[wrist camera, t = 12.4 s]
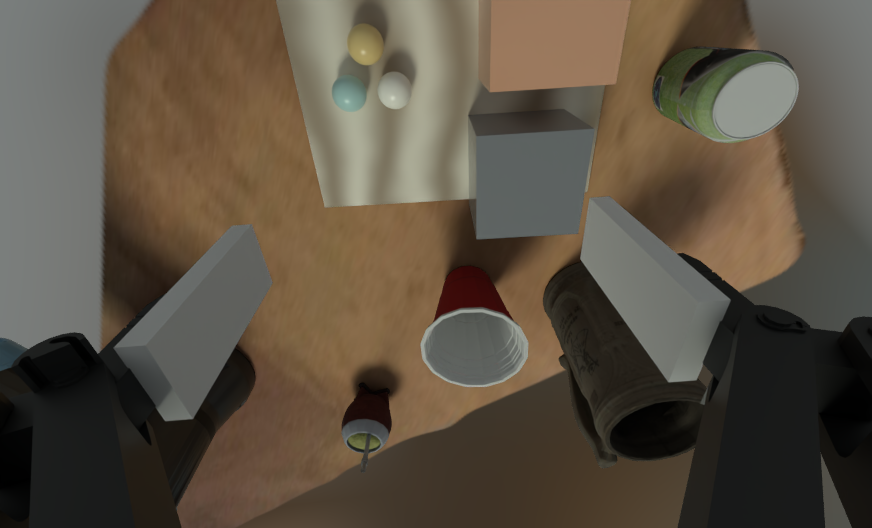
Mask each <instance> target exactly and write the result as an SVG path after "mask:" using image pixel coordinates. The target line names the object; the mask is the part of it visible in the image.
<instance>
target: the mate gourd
mask: <svg viewBox="0 0 872 528" xmlns="http://www.w3.org/2000/svg"><path fill="white" fill-rule="evenodd" d="M359 387H360V391H359V393H358V395H357V397H356V399H354V401H353V402H352V403H351V404H350V406H349V407H348V409H347V410H346V412H345V415H344V418H343V421H342V436H343V439H344V442H345V444H346V446H348V447H349V448H350V449H351V450H353V451H355V452H359V453H364V456H363V458H362V462H361V465H362V468H361V472H365V471H366V466H367V465H368V453H372V452H375V451H377V450H379V449H380V448H381V447H382V446H383V445H384V444H385V443H386V441H387V439H388V437H389V433H390V431H391V426H392V420H391V415H390V410H389V399H388V394H389V393H390V390H389V389H388V388H386V389H383V390H380V391H377V392H374V393H373V392H371V391H370V389H369V388H368V387H367V386H366V385H365V384H364V383H361V384H359Z"/></svg>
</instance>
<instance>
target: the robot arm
mask: <svg viewBox="0 0 872 528" xmlns="http://www.w3.org/2000/svg"><path fill="white" fill-rule="evenodd" d="M580 259H581V261H582V262H583V264H584V265H585V266H586V268H587V269H588V271H589V272H590V273H591V275H592V276H593V278H594V279H595V280H596V282H597V283H598V285H599V286H600V287H601V289H602V290H603V291H604V293H605V294H606V296H607V297H608V298H609V300H610V301H611V303H612V304H613V305H614V307H615V308H616V310H617V311H618V312H619V314H620V315H621V317H622V318H623V319H624V321H625V322H626V324H627V325H628V326H629V328H630V329H631V331H632V332H633V333H634V335H635V336H636V338H637V339H638V340H639V342H640V343H641V345H642V346H643V347H644V349H645V350H646V352H647V353H648V354H649V356H650V357H651V359H652V360H653V361H654V363H655V364H656V366H657V367H658V368H659V370H660V371H661V373H662V374H663V375H664V377H665V378H666V380H667V381H668V382H680V381H693V380H697V377H698V375H699V373H700V371H701V368H702V366H703V364H704V365H705V366H706V367H707V369H708V370H709V371H710V372H711V373H712V374H713V377H712V379H711V381H710V383H709V385H708V388H707V390H706V392H705V394H704V396H703V398H702V401H701V403H700V404H703V405H704V409H703V414H702V418H701V423H700V427H699V432H698V436H697V441H696V446H695V450H694V455H693V459H692V464H691V469H690V473H689V478H688V482H687V487H686V491H685V496H684V500H683V505H682V510H681V514H680V519H679V523H678V528H825V518H824V502H823V486H822V470H821V454H822V457H823V459H824V461H825V464H826V466H827V469H828V471H829V474H830V476H831V478H832V481H833V483H834V486H835V488H836V490H837V493H838V495H839V498H840V500H841V502H842V505H843V507H844V509H845V512H846V514H847V517H848V519H849V522H850V524H851V526H852V528H872V317H858V318H853V319H852V320H851V321H850V322H849V324H848V325H847V327H846V328H845V330H844V331H843V332H836V331H828V330H821V329H813V328H810V325H808V324H807V323H806V322H805V321H804V320H802V319H801V318H800V317H798V316H796V315H794V314H792V313H790V312H788V311H785V310H782V309H779V308H776V307H771V306H765V305H754V304H753V303H752V302H750V301H749V300H748V299H747V298H746V297H744V296H743V295H742V294H741V293H739V292H738V291H737V290H736V289H734V288H733V287H732V286H731V285H729V284H728V283H727V282H726V281H725V280H722V278H721V277H720V276H718V275H717V274H716V273H715V272H712V270H711V269H710V268H708V267H707V266H706V265H705V264H703V263H702V262H701V261H699V260H697V259H695V258H693V257H691V256H689V255H687V254H684V253H679V254H676V253H675V252H674V251H673V250H672V249H671V248H669V247H668V246H667V245H666V244H665V243H664V242H662V241H661V240H660V239H659V238H658V237H657V236H655V235H654V234H653V233H652V232H651V231H649V230H648V229H647V228H646V227H645V226H644V225H642V224H641V223H640V222H639V221H638V220H637V219H635V218H634V217H633V216H632V215H631V214H630V213H628V212H627V211H626V210H625V209H624V208H623V207H621V206H620V205H619V204H618V203H617V202H616V201H614V200H613V199H612V198H611V197H610V196H608V197H595V198H590V199H589V206H588V212H587V219H586V225H585V231H584V238H583V244H582V251H581V257H580ZM272 283H273V282H272V280H271V277H270V274H269V271H268V268H267V266H266V263H265V260H264V257H263V254H262V252H261V249H260V246H259V243H258V241H257V238H256V235H255V232H254V229H253V227H252V224H249V225H237V226H231V227H230V228H229V229H228V230H227V232H226V233H225V234H224V235H223V236H222V237H221V238H220V239H219V240H218V241H217V242H216V243H215V244H214V245H213V246H212V247H211V248H210V249H209V250H208V251H207V252H206V253H205V254H204V255H203V256H202V257H201V258H200V259H199V260H198V261H197V262H196V263H195V264H194V265H193V267H192V268H191V269H190V270H189V271H188V272H187V273H186V274H185V275H184V276H183V277H182V278H181V279H180V280H179V281H178V282H177V283H176V284H175V285H174V286H173V287H172V288H171V289H170V290H169V291H168V292H167V293H166V294H165V295H162V296H160V297H159V298H157V299H156V300H154V301H153V302H151V303H149V304H148V305H147V306H146V307H145V308H144V309H143V310H142V311H141V312H140V313H139V314H138V315H137V316H136V318H135V319H133V320H132V321H131V322H130V323H129V324H128V325H127V328H124V329H123V330H122V331H121V332H120V333H119V334H118V335H117V336H116V337H115V338H114V339H113V340H112V341H111V342H110V343H109V344H108V345H107V346H106V347H105V348H104V349H103V350H102V351H101V352H100V353H99V354H97V352H96V351H95V350H94V348H93V347H92V345H91V344H90V343H89V341H88V340H87V339H86V338H85V336H84V335H83V334H81V333H67V334H62V335H59V336H56V337H53V338H49V339H47V340H45V341H43V342H41V343H38V344H36V345H35V346H33V347H31V348H30V349H27V348H25V347H23V346H21V345H19V344H17V343H16V342H14V341H12V340H9V339H5V338H0V528H181V524H180V521H179V517H178V514H177V506H178V504H179V502H180V500H181V498H182V497H183V495H184V493H185V491H186V489H187V487H188V485H189V483H190V481H191V479H192V477H193V475H194V474H195V472H196V470H197V468H198V466H199V464H200V462H201V460H202V458H203V456H204V454H205V452H206V450H207V449H208V447H209V445H210V443H211V441H212V439H213V437H214V435H215V433H216V432H217V431H218V429H219V428H220V427H221V426H222V425H223V424H224V423H225V422H226V421H227V420H228V419H229V418H230V417H231V415H232V414H233V413H234V412H235V411H237V410H238V409H239V408H240V407H241V406H242V405H243V404H244V403H245V402H246V401H247V399H248V397H249V395H250V393H251V391H252V389H253V387H254V384H255V374H254V371H253V368H252V366H251V365H250V363H249V362H248V360H247V359H246V358H245V357H244V356H243V355H242V354H241V353H240V352H238V351H237V350H236V349H234V348H235V346H236V345H237V343H238V341H239V339H240V338H241V336H242V334H243V333H244V331H245V329H246V328H247V326H248V324H249V322H250V321H251V319H252V317H253V316H254V314H255V312H256V310H257V309H258V307H259V305H260V304H261V302H262V300H263V299H264V297H265V295H266V293H267V292H268V290H269V288H270V287H271V285H272ZM820 452H821V454H820Z"/></svg>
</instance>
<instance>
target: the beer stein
mask: <svg viewBox="0 0 872 528" xmlns="http://www.w3.org/2000/svg"><path fill="white" fill-rule="evenodd" d="M543 305H544V309H545V312H546V313H547V315H548V317H549V318H550V320H551V324H552V327H553V328H554V330H555V333H556V335H557V338H558V340H559V342H560V345H561V348H562V350H563V352H564V354H563V355H562V356H560V357H559V361H560V364H561V366H562V367H563V368H564V369H566V370H567V371H568V377H569V385H570V395H571V402H572V407H573V411H574V416H575V419H576V422H577V424H578V427H579V429H580V431H581V432H582V434H583V436H584V437H585V439H586V440H587V442H588V443H589V445H590V446H591V448H592V449H593V452H594V454H595V457H596V459H597V462H598V464H599V466H600V467H601V468H608V467H610V466H612V465H614V464H615V463H616V462H617V456H619V457H622V458H625V459H629V460H633V461H656V460H661V459H666V458H670V457H675V456H678V455H680V454H683V453H686V452H688V451H690V450H692V449H694V448H695V446H696V441H697V436H698V432H699V427H700V423H701V418H702V414H703V409H704V405H703V404H700V403H701V401H702V398H703V396H704V394H705V392H706V390H707V388H706V386H705V385H704V384H703V383H702V382H701V381H700V380H699V379H698V378H697V380H693V381H680V382H668V381H667V380H666V378H665V377H664V375H663V374H662V373H661V371H660V370H659V368H658V367H657V366H656V364H655V363H654V361H653V360H652V359H651V357H650V356H649V354H648V353H647V352H646V350H645V349H644V347H643V346H642V345H641V343H640V342H639V340H638V339H637V338H636V336H635V335H634V333H633V332H632V331H631V329H630V328H629V326H628V325H627V324H626V322H625V321H624V319H623V318H622V317H621V315H620V314H619V312H618V311H617V310H616V308H615V307H614V305H613V304H612V303H611V301H610V300H609V298H608V297H607V296H606V294H605V293H604V291H603V290H602V289H601V287H600V286H599V285H598V283H597V282H596V280H595V279H594V278H593V276H592V275H591V273H590V272H589V271H588V269H587V268H586V266H585V265H584V264H583V262H582V263H577V264H574V265H572V266H569V267H567V268H565V269H564V270H562V271H561V272H560V273H558V274H557V275H556V276H555V277H554V278H553V279H552V280H551V281H550V283H549V284H548V286H547V288H546V289H545V293H544V297H543Z"/></svg>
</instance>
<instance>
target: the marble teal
mask: <svg viewBox="0 0 872 528" xmlns="http://www.w3.org/2000/svg"><path fill="white" fill-rule="evenodd" d="M332 97H333V100H334V102H335V104H336V105H337V106H338V107H339V108H340V109H342V110H344V111H346V112H355V111H358V110H359V109H361V108H362V107H363V106H364V104H365V102H366V98H367V92H366V88H365V86H364V84H363V83H362V81H361V80H360V79H358V78H357V77H355V76H353V75H343V76H340V77H339V78H337V79H336V81H335V82H334V84H333V86H332Z"/></svg>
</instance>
